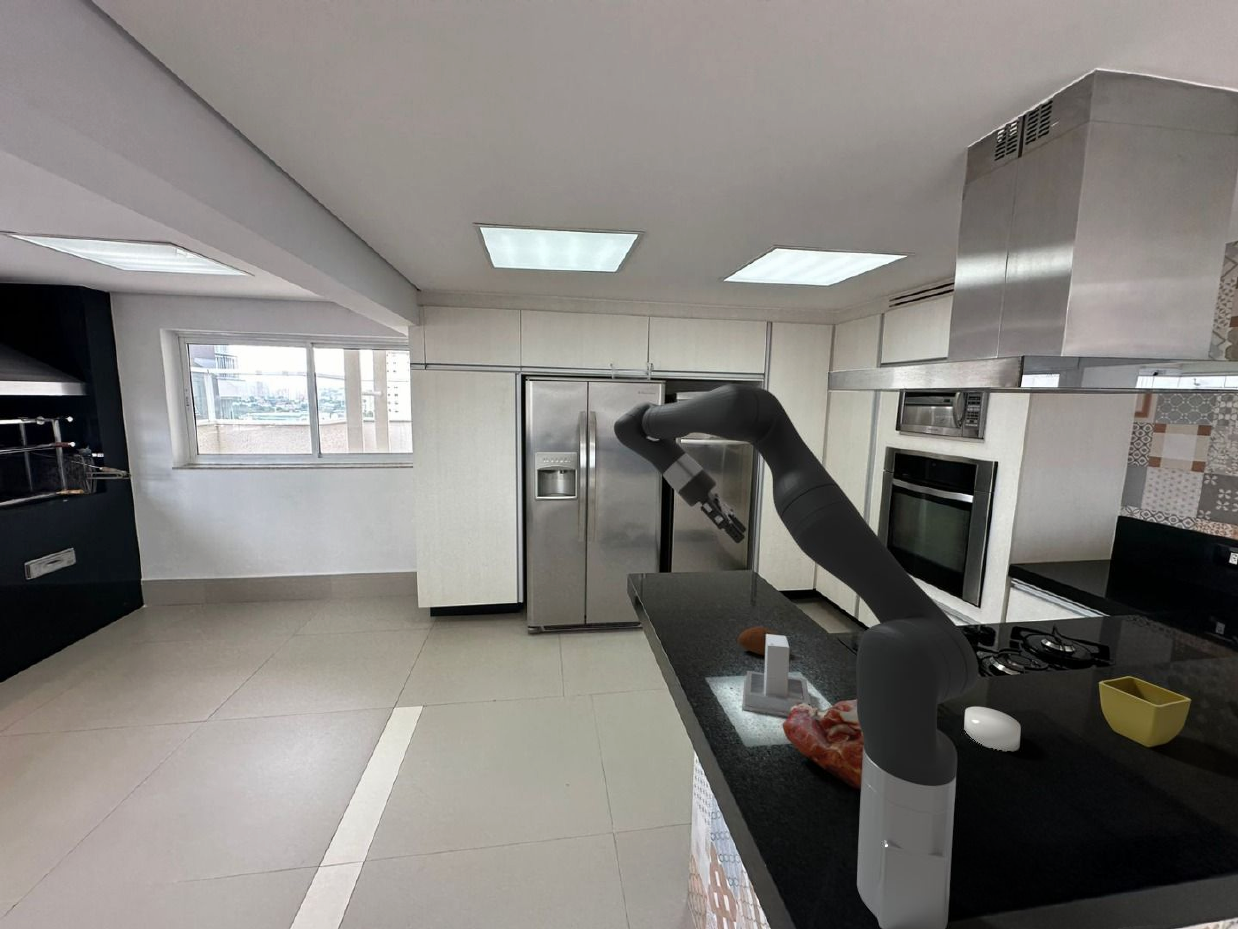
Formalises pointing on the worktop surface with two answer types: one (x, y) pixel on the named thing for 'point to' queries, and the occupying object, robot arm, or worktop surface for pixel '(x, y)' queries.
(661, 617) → the worktop surface
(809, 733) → the meat
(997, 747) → the white domed puck
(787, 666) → the skincare box
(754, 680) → the tray
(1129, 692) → the flower pot
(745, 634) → the potato
